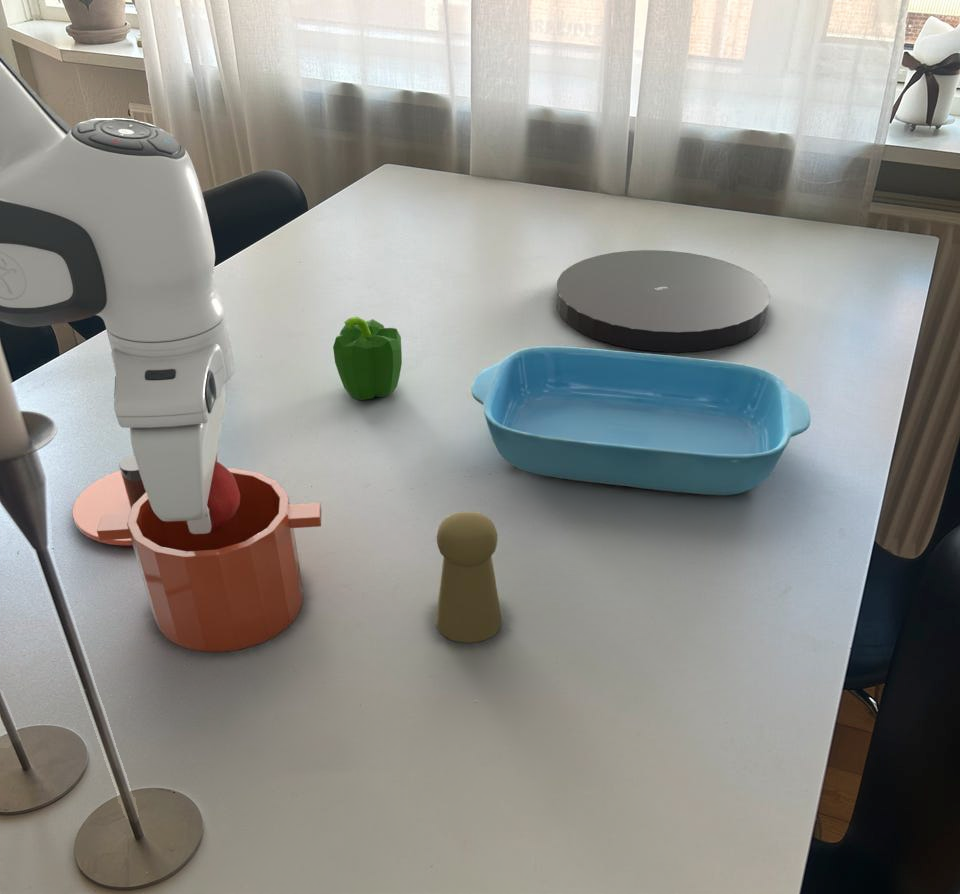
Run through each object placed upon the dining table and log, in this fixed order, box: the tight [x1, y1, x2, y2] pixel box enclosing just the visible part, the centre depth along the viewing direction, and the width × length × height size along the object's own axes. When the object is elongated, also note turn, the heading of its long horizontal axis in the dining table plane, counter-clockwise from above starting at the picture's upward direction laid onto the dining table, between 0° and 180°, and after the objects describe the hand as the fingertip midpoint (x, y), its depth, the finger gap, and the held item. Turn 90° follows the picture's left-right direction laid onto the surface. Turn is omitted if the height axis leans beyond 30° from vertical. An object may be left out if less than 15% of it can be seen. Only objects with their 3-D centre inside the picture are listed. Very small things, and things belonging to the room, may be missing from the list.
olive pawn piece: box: [435, 510, 503, 644], centre depth 88 cm, size 6×6×11 cm
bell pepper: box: [332, 316, 403, 401], centre depth 122 cm, size 8×8×10 cm
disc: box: [555, 249, 771, 353], centre depth 143 cm, size 30×30×3 cm
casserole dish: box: [471, 345, 811, 496], centre depth 112 cm, size 37×22×7 cm, turn 79°
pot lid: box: [71, 454, 146, 546], centre depth 104 cm, size 15×15×6 cm
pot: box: [97, 467, 322, 653], centre depth 90 cm, size 14×19×10 cm
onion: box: [183, 461, 240, 533], centre depth 85 cm, size 6×6×8 cm
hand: (206, 504), depth 86 cm, fingers closed on onion, 6 cm apart
